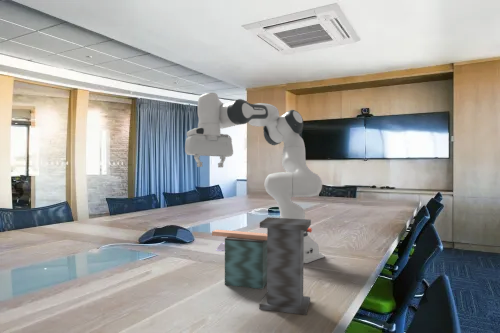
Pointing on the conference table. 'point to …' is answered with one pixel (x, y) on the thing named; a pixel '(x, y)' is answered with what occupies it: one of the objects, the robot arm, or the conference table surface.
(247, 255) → the low pedestal
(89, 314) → the conference table surface
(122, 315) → the conference table surface
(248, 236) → the slat
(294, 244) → the tall pedestal
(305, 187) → the robot arm
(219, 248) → the mobile phone
